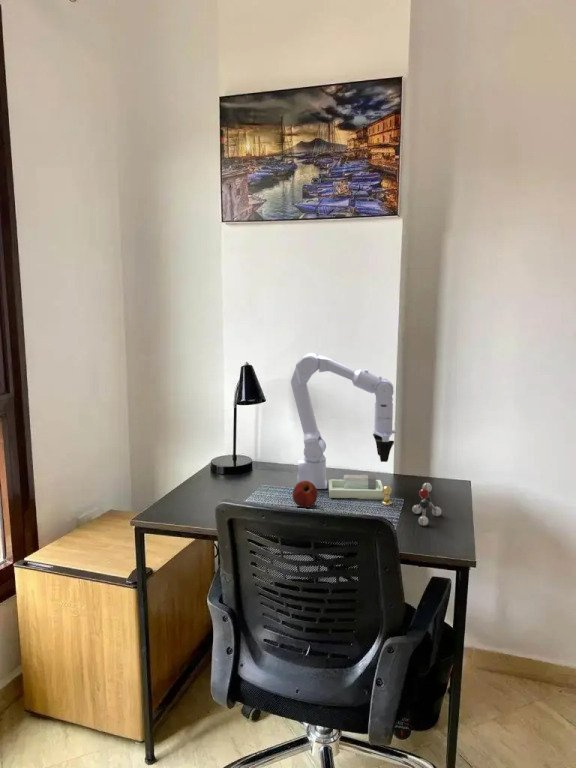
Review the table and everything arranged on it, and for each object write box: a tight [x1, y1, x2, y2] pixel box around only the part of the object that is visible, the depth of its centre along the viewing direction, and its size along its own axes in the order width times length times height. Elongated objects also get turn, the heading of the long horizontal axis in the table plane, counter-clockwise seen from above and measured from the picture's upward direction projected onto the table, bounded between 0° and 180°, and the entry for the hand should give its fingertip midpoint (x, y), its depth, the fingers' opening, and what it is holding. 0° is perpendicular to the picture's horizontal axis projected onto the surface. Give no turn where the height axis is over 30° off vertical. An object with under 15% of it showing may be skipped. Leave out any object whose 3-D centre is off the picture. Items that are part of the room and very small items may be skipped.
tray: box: [327, 479, 384, 500], centre depth 189 cm, size 17×11×3 cm, turn 87°
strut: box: [343, 474, 377, 490], centre depth 188 cm, size 10×4×5 cm, turn 87°
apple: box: [292, 481, 318, 508], centre depth 176 cm, size 7×8×8 cm
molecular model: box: [411, 482, 442, 527], centre depth 165 cm, size 8×12×11 cm
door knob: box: [381, 485, 392, 506], centre depth 179 cm, size 3×3×6 cm
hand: (382, 458), depth 191 cm, fingers open, 7 cm apart
